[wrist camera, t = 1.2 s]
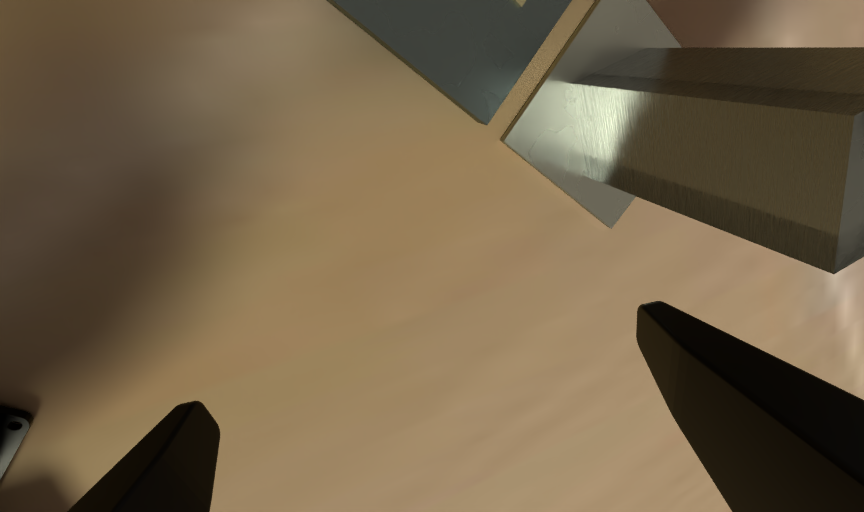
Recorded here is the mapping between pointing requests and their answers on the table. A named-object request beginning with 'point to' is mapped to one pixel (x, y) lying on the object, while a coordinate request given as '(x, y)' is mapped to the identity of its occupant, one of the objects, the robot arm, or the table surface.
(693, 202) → the grey clip
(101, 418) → the table surface
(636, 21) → the grey square plate
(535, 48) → the rail plate
